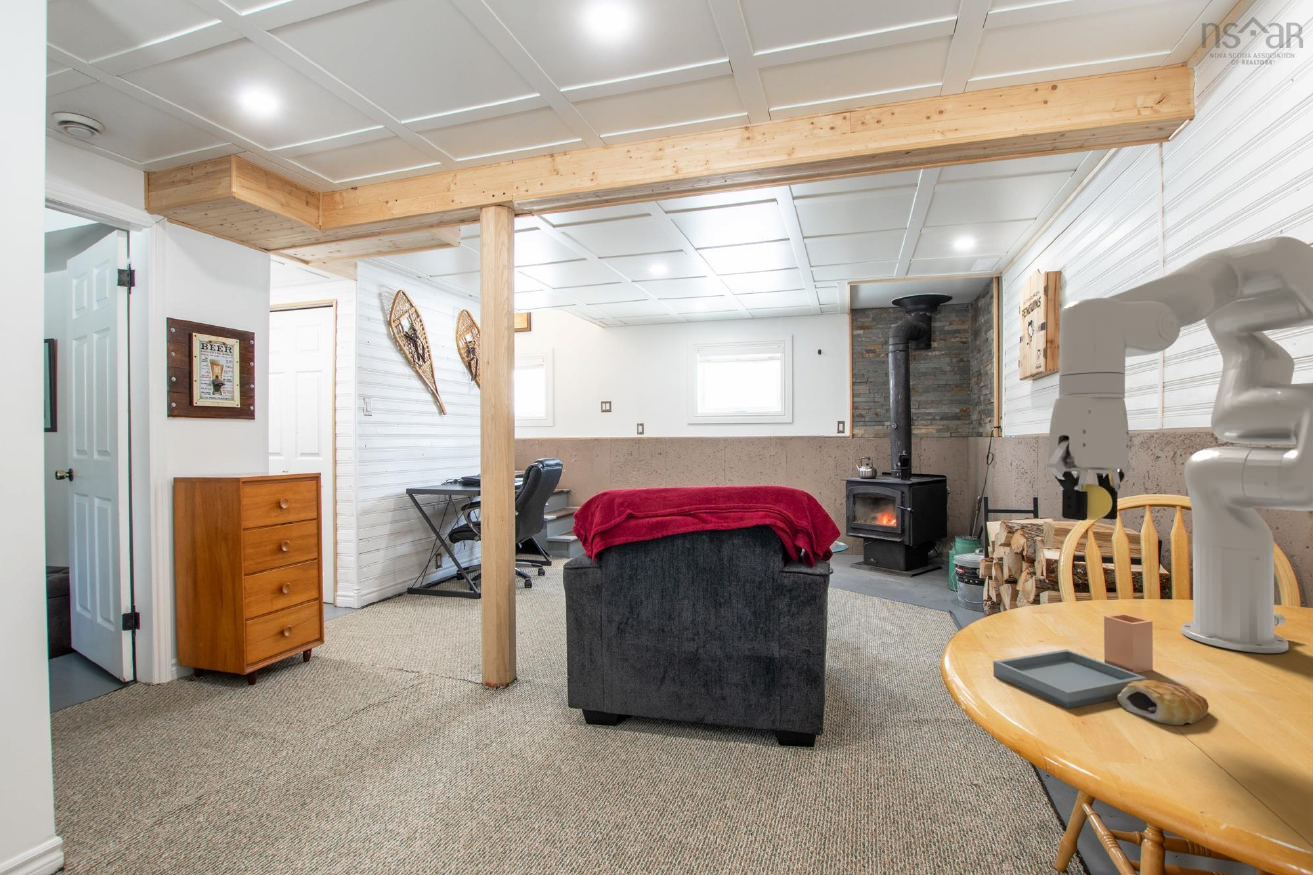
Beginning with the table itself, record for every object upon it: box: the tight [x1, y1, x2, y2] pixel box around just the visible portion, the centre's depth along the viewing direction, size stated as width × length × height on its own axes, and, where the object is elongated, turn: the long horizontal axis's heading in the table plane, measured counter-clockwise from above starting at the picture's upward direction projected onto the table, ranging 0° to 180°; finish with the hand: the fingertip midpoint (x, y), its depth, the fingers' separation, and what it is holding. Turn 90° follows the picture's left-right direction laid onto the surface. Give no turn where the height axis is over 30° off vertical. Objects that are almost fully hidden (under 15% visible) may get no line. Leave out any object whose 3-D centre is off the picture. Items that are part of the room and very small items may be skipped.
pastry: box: [1117, 679, 1209, 726], centre depth 74 cm, size 9×7×4 cm
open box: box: [1103, 613, 1154, 674], centre depth 88 cm, size 4×4×7 cm
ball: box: [1083, 483, 1112, 521], centre depth 84 cm, size 5×5×5 cm
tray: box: [992, 649, 1148, 710], centre depth 82 cm, size 14×11×2 cm
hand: (1089, 517), depth 84 cm, fingers closed on ball, 4 cm apart
